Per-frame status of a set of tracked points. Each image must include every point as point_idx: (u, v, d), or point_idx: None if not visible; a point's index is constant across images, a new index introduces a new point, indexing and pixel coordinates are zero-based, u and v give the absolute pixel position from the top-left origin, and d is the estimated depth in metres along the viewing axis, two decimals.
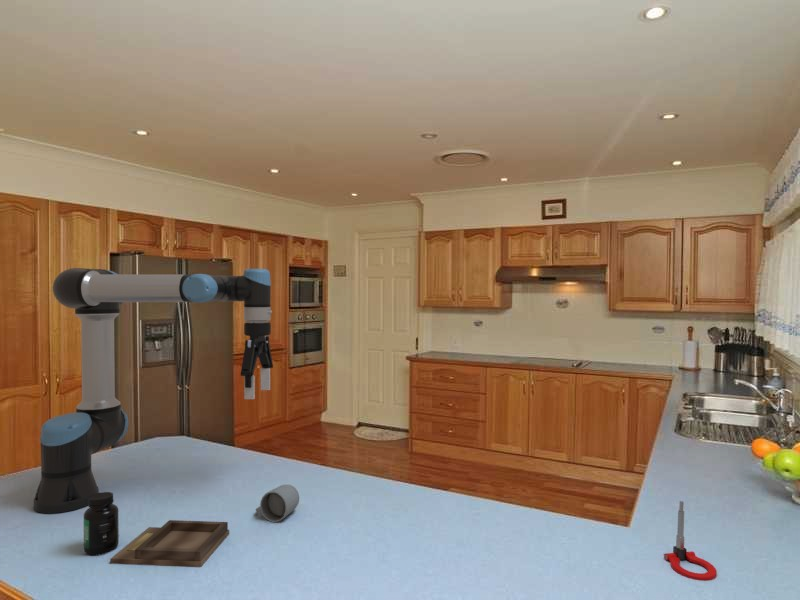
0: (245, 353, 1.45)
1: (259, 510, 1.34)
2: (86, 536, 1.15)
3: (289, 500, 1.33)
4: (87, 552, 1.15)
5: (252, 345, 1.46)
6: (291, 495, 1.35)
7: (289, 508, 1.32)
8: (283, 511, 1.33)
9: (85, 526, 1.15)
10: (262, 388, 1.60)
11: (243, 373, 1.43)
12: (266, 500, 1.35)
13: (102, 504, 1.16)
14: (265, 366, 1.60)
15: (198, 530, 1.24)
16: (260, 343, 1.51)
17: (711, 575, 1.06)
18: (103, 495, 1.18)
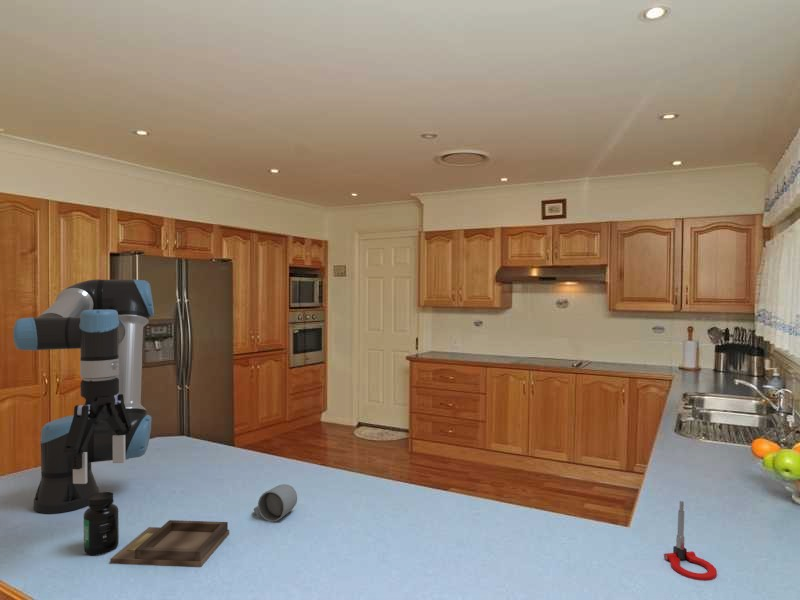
0: (73, 423, 1.10)
1: (257, 510, 1.34)
2: (86, 536, 1.15)
3: (287, 500, 1.33)
4: (87, 552, 1.15)
5: (83, 412, 1.11)
6: (289, 495, 1.35)
7: (287, 508, 1.32)
8: (281, 511, 1.33)
9: (85, 526, 1.15)
10: (114, 461, 1.24)
11: (67, 451, 1.08)
12: (264, 500, 1.35)
13: (102, 504, 1.16)
14: (119, 432, 1.25)
15: (198, 530, 1.24)
16: (101, 407, 1.16)
17: (711, 575, 1.06)
18: (103, 495, 1.18)
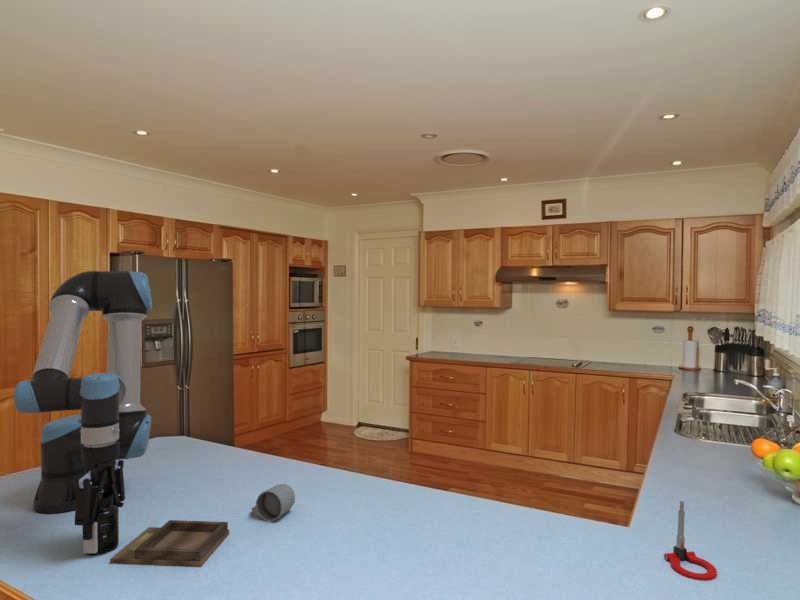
0: (78, 497, 1.12)
1: (255, 509, 1.35)
2: None
3: (285, 499, 1.33)
4: None
5: (85, 486, 1.11)
6: (287, 494, 1.35)
7: (284, 508, 1.33)
8: (279, 510, 1.33)
9: None
10: None
11: (78, 524, 1.11)
12: (262, 499, 1.36)
13: (102, 504, 1.16)
14: None
15: (198, 530, 1.24)
16: (101, 474, 1.16)
17: (711, 575, 1.06)
18: (103, 495, 1.18)
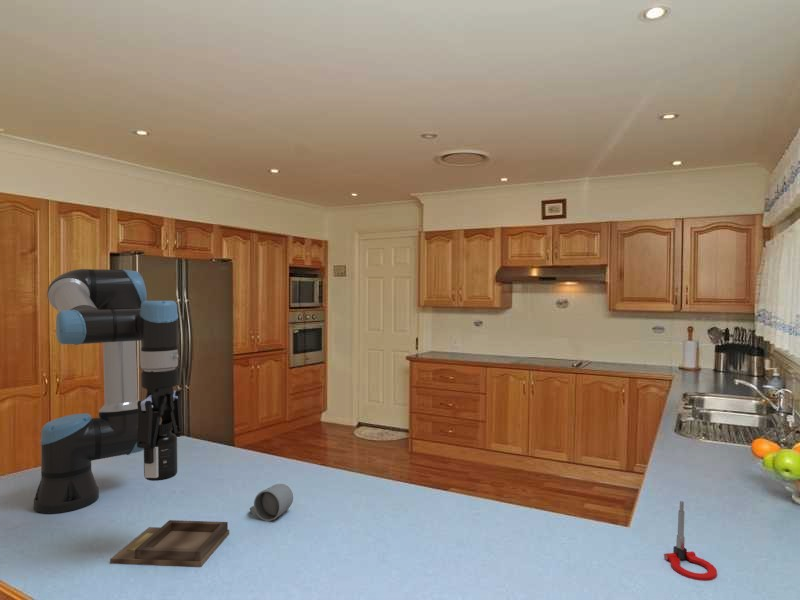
0: (140, 419, 1.11)
1: (253, 509, 1.35)
2: None
3: (283, 499, 1.33)
4: None
5: (147, 408, 1.11)
6: (285, 494, 1.35)
7: (282, 508, 1.33)
8: (277, 510, 1.33)
9: None
10: None
11: (140, 446, 1.10)
12: (260, 499, 1.36)
13: (162, 429, 1.16)
14: None
15: (198, 530, 1.24)
16: (161, 399, 1.15)
17: (711, 575, 1.06)
18: (162, 422, 1.17)
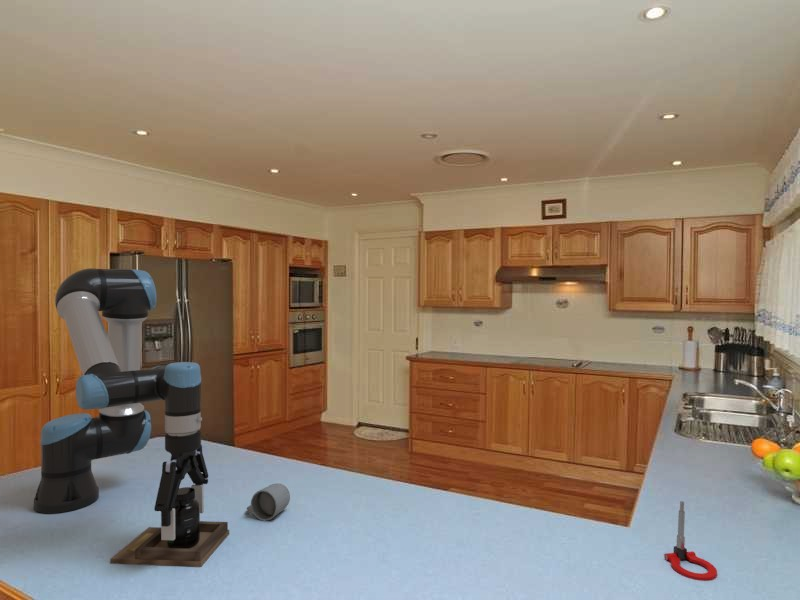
0: (162, 480, 1.10)
1: (250, 509, 1.35)
2: None
3: (279, 499, 1.33)
4: (171, 547, 1.15)
5: (171, 469, 1.11)
6: (282, 494, 1.35)
7: (279, 507, 1.33)
8: (273, 510, 1.34)
9: None
10: None
11: (157, 510, 1.08)
12: (257, 499, 1.36)
13: (186, 499, 1.16)
14: (197, 482, 1.25)
15: None
16: (185, 461, 1.16)
17: (711, 575, 1.06)
18: (185, 490, 1.18)
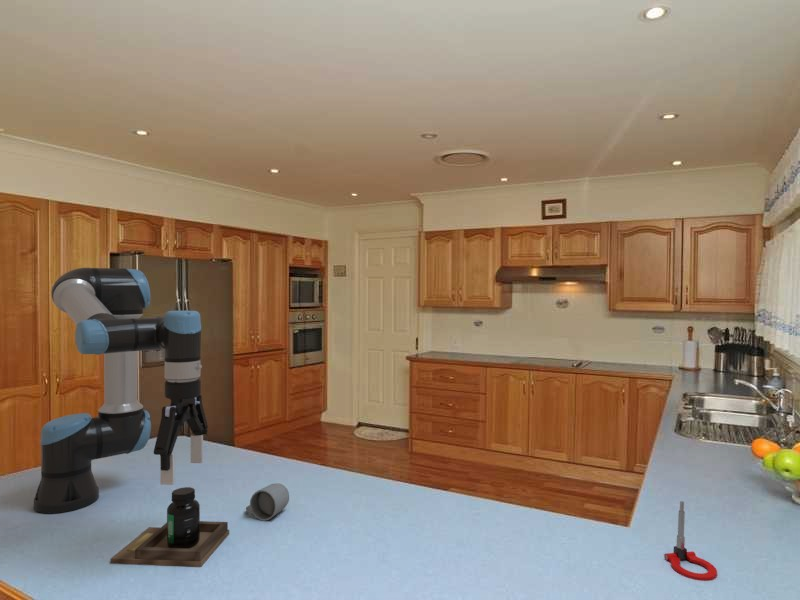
0: (161, 425, 1.10)
1: (249, 509, 1.35)
2: (170, 531, 1.15)
3: (278, 499, 1.34)
4: (171, 547, 1.15)
5: (171, 414, 1.11)
6: (281, 494, 1.36)
7: (278, 507, 1.33)
8: (273, 510, 1.34)
9: (169, 521, 1.15)
10: (192, 461, 1.25)
11: (157, 453, 1.08)
12: (256, 499, 1.36)
13: (186, 499, 1.16)
14: (197, 432, 1.25)
15: None
16: (185, 408, 1.16)
17: (711, 575, 1.06)
18: (185, 490, 1.18)
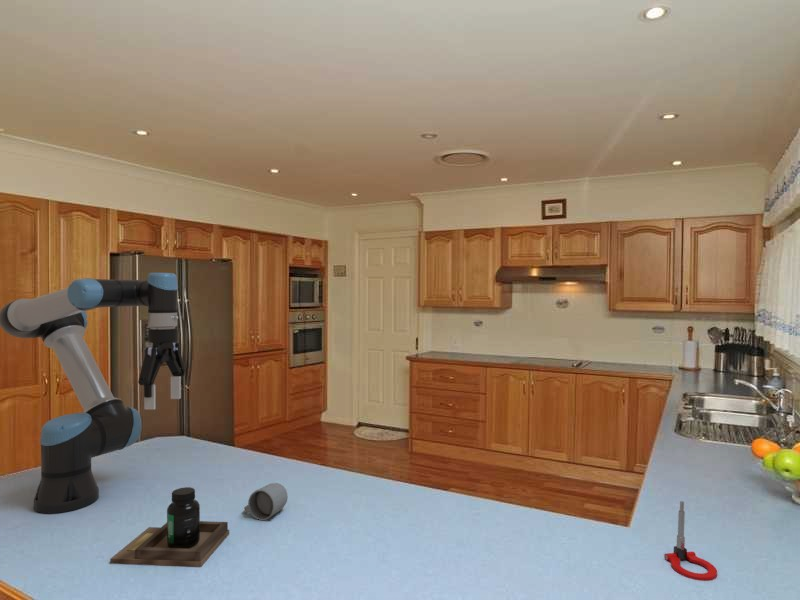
0: (145, 361, 1.39)
1: (247, 508, 1.35)
2: (170, 531, 1.15)
3: (277, 498, 1.34)
4: (171, 547, 1.15)
5: (152, 353, 1.39)
6: (279, 493, 1.36)
7: (276, 507, 1.33)
8: (271, 509, 1.34)
9: (169, 521, 1.15)
10: (172, 397, 1.53)
11: (141, 382, 1.36)
12: (254, 498, 1.36)
13: (186, 499, 1.16)
14: (176, 374, 1.53)
15: None
16: (164, 350, 1.44)
17: (711, 575, 1.06)
18: (185, 490, 1.18)
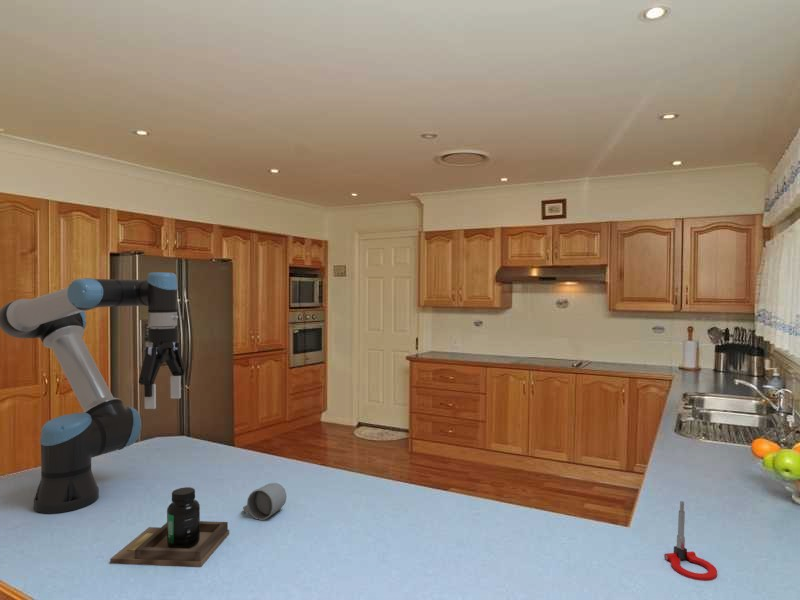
0: (145, 361, 1.39)
1: (246, 508, 1.35)
2: (170, 531, 1.15)
3: (276, 498, 1.34)
4: (171, 547, 1.15)
5: (153, 352, 1.40)
6: (278, 493, 1.36)
7: (275, 507, 1.33)
8: (270, 509, 1.34)
9: (169, 521, 1.15)
10: (172, 396, 1.53)
11: (141, 382, 1.37)
12: (253, 498, 1.36)
13: (186, 499, 1.16)
14: (175, 373, 1.54)
15: None
16: (164, 350, 1.45)
17: (711, 575, 1.06)
18: (185, 490, 1.18)
